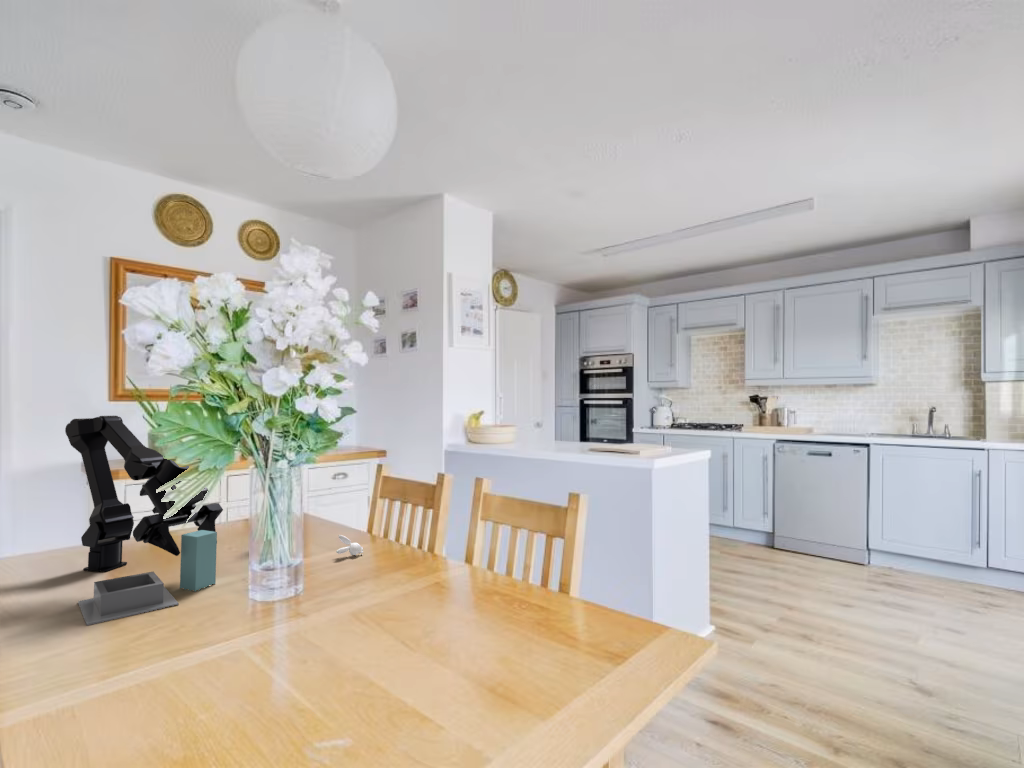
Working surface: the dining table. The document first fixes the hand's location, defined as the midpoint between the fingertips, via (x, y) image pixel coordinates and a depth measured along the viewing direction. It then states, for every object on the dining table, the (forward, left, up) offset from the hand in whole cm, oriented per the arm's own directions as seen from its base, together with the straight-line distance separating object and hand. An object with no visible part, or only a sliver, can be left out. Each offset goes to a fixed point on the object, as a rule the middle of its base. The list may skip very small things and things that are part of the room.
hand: (197, 549), depth 123 cm
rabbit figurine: (-28, +23, -8) cm, 37 cm away
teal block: (0, 0, -8) cm, 8 cm away
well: (+12, -6, -8) cm, 16 cm away
